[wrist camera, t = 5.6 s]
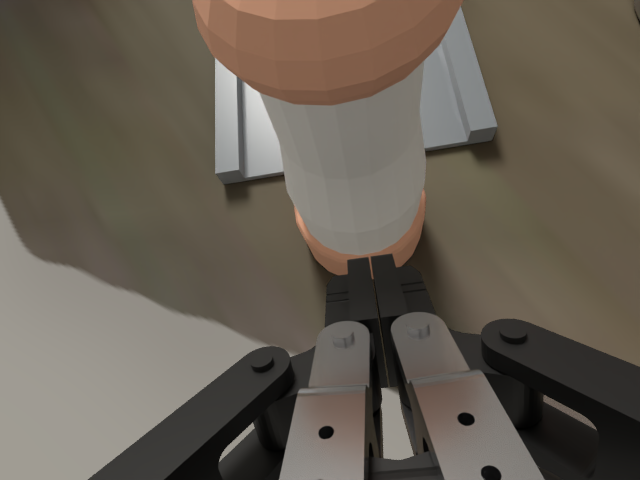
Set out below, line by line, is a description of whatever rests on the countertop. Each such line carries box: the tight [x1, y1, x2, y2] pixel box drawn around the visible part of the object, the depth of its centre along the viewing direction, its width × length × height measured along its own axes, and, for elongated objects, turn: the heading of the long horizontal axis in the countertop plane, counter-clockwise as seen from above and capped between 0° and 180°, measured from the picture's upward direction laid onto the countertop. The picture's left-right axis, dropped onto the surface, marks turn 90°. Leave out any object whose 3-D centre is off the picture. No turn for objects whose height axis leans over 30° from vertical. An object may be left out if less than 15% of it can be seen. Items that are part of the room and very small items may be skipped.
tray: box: [215, 6, 498, 184], centre depth 31 cm, size 18×22×2 cm
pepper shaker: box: [193, 0, 463, 279], centre depth 17 cm, size 7×7×19 cm
